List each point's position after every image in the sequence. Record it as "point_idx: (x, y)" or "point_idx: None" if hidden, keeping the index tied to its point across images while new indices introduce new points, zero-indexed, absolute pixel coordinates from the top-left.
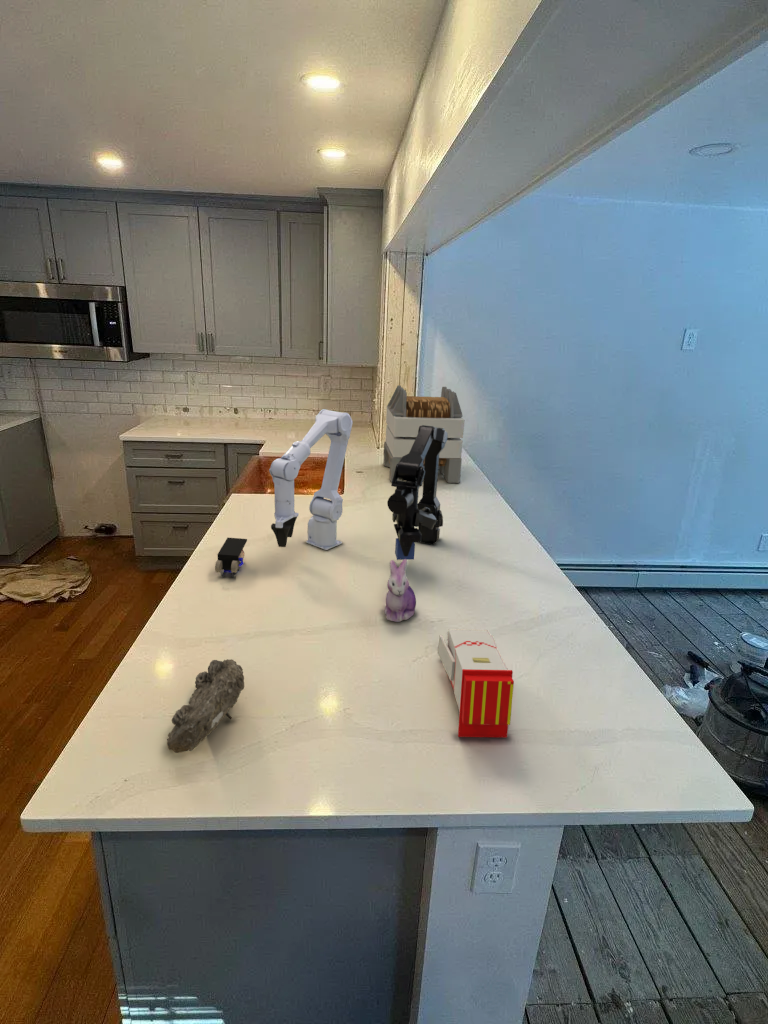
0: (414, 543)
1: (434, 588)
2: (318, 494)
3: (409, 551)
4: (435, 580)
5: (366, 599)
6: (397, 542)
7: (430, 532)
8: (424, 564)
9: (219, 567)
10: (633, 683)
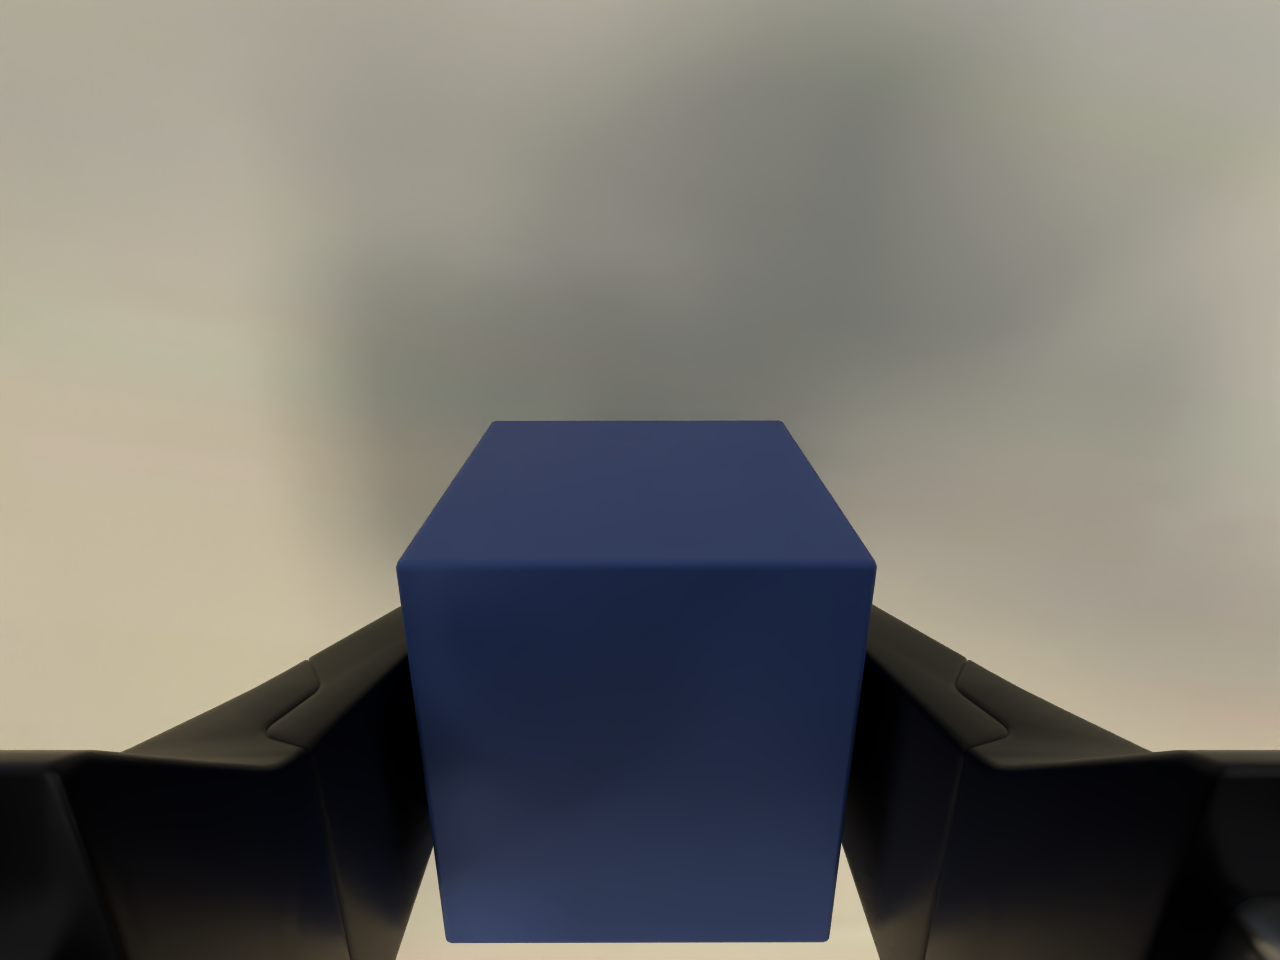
0: (821, 573)
1: (1173, 115)
2: None
3: (881, 610)
4: (934, 44)
5: None
6: (725, 941)
7: None
8: (381, 122)
9: None
10: None
